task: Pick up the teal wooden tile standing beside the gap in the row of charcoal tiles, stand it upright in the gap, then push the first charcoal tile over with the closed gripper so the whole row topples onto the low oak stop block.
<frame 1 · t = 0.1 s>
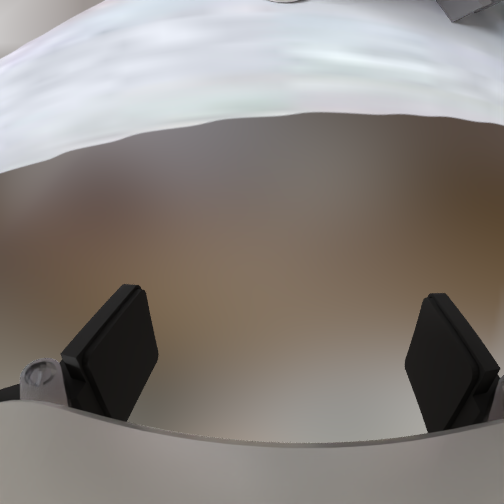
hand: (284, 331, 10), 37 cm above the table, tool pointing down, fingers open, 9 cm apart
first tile: (447, 7, 30), on the table
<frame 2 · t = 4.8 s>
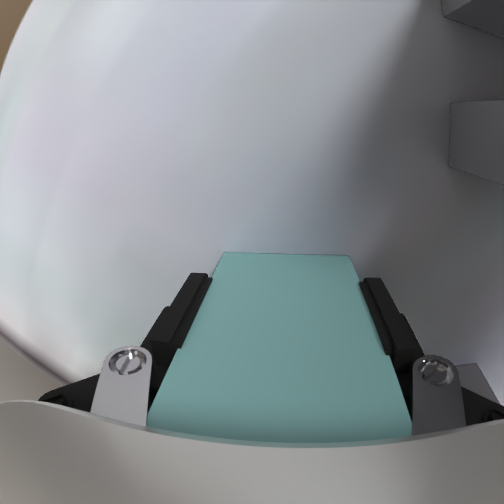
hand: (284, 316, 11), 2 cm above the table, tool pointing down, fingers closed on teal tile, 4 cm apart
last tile: (435, 384, 15), on the table
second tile: (494, 144, 10), on the table
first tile: (485, 9, 7), on the table
teal tile: (285, 283, 13), on the table, touching gripper
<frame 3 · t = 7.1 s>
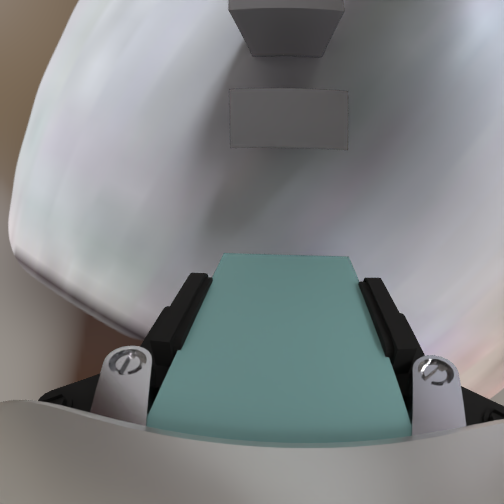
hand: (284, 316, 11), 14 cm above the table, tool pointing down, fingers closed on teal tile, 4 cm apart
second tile: (288, 122, 21), on the table
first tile: (286, 40, 19), on the table
teal tile: (285, 284, 13), point 12 cm above the table, touching gripper
when the fingers open (3 cm above the table, at t = 9.3 s): teal tile stays where it is, on the table.
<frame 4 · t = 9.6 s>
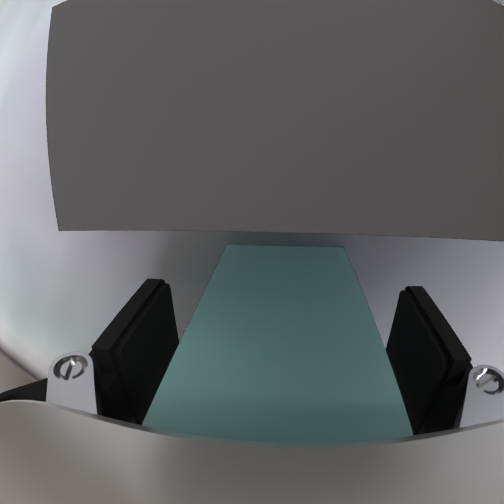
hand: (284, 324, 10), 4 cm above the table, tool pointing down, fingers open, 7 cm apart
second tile: (287, 120, 11), on the table
teal tile: (284, 273, 14), on the table
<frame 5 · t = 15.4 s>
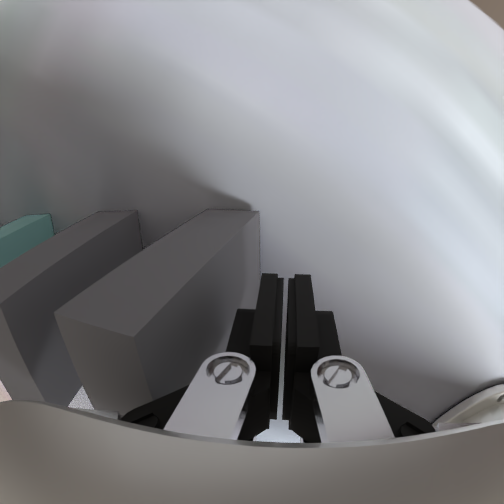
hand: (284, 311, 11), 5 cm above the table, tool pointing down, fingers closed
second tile: (123, 253, 17), on the table
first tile: (234, 258, 16), on the table, tilted 9°
teal tile: (44, 250, 18), on the table
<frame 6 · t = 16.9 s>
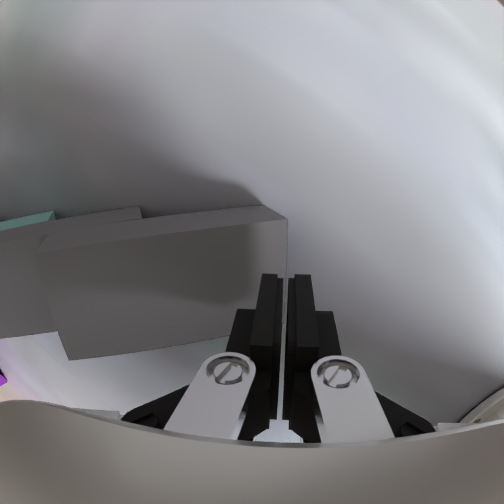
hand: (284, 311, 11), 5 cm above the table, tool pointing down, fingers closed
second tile: (146, 259, 15), point 1 cm above the table, tilted 62°, touching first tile, teal tile
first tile: (273, 263, 15), point 1 cm above the table, tilted 64°, touching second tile
teal tile: (59, 256, 16), point 1 cm above the table, tilted 58°, touching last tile, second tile
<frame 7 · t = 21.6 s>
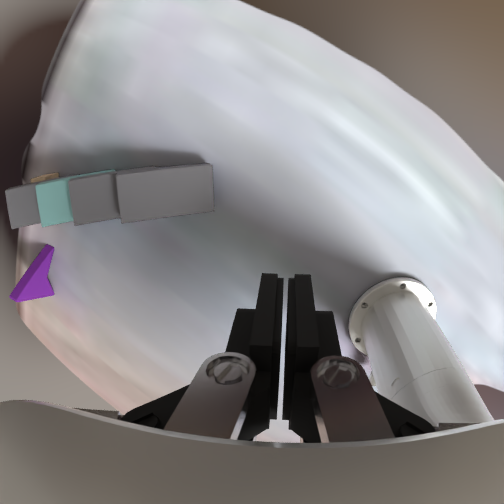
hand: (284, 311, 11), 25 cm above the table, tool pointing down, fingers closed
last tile: (78, 194, 35), point 2 cm above the table, tilted 57°, touching stop block, teal tile
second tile: (156, 188, 35), point 1 cm above the table, tilted 59°, touching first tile, teal tile
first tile: (210, 186, 34), point 1 cm above the table, tilted 63°, touching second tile
teal tile: (116, 190, 35), point 1 cm above the table, tilted 57°, touching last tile, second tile
stop block: (53, 194, 37), on the table
arrowhead: (51, 269, 43), on the table
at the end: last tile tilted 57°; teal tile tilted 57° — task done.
